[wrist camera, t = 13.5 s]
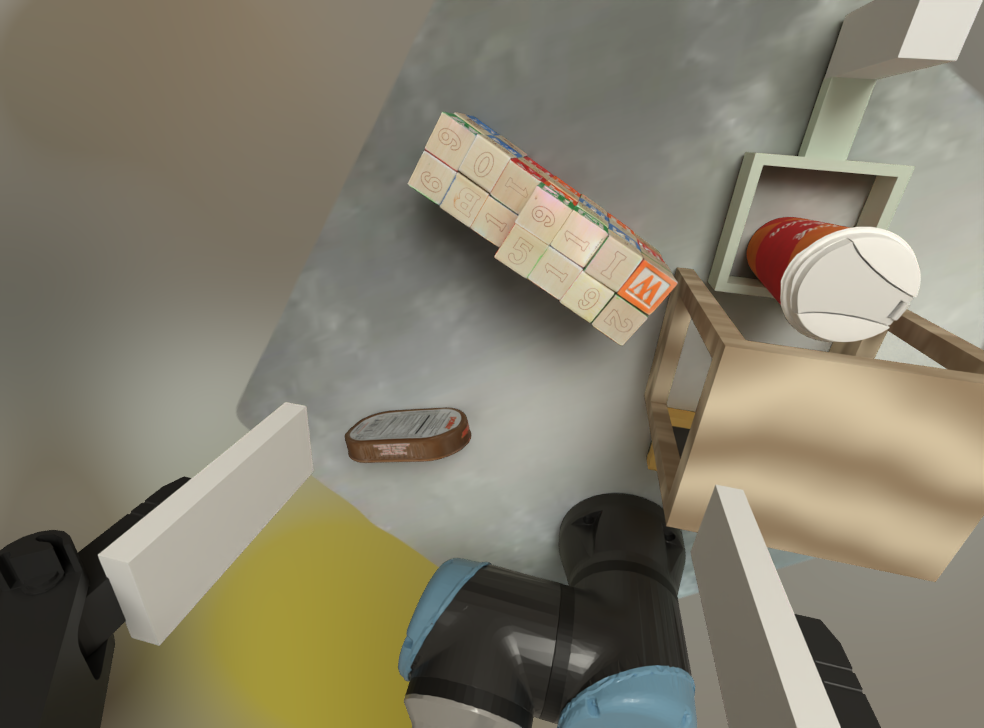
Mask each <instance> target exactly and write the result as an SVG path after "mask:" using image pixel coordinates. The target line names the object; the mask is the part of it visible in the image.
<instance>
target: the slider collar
mask: <svg viewBox="0 0 984 728" xmlns="http://www.w3.org/2000/svg"><path fill="white" fill-rule="evenodd" d="M982 1H983V0H874V1H872V2H870V3H868V4H866V5H864V6H862V7H860V8H859V9H857V10H855V11H853V12H851V13H849V14H847V15H846V16H845V19H844V22H843V25H842V28H841V31H840V34H839V37H838V40H837V43H836V46H835V49H834V51H833V54H832V57H831V60H830V63H829V66H828V69H827V72H826V75H825V78H824V80H823V83H822V86H821V89H820V92H819V95H818V98H817V100H816V103H815V106H814V109H813V112H812V115H811V118H810V121H809V124H808V127H807V130H806V133H805V136H804V139H803V142H802V145H801V148H800V151H799V154H798V156H787V155H776V154H764V153H749V152H745V155H744V158H743V162H742V165H741V169H740V172H739V176H738V179H737V183H736V186H735V189H734V193H733V196H732V200H731V203H730V207H729V210H728V214H727V217H726V220H725V224H724V227H723V231H722V234H721V238H720V241H719V245H718V248H717V251H716V255H715V258H714V262H713V265H712V269H711V272H710V276H709V279H708V283H709V284H710V285H711V287H712V288H713V289H714V290H715V291H721V292H729V293H737V294H744V295H752V296H760V297H768V298H774V297H773V296H772V294H771V293H770V292H769V291H768V290H767V288H766V287H765V286H764V285H763V284H762V282H761V281H760V280H759V279H751V278H743V277H735V276H729V275H730V271H731V268H732V265H733V262H734V258H735V255H736V252H737V249H738V245H739V242H740V239H741V236H742V232H743V229H744V226H745V223H746V220H747V216H748V213H749V210H750V207H751V203H752V200H753V197H754V194H755V190H756V187H757V184H758V181H759V177H760V174H761V171H762V168H763V165H770V166H781V167H792V168H803V169H815V170H826V171H837V172H848V173H860V174H871V175H877V177H876V179H875V181H874V184H873V186H872V189H871V191H870V194H869V196H868V198H867V201H866V203H865V206H864V208H863V211H862V213H861V215H860V218H859V220H858V223H857V225H856V227H875V228H881V229H884V230H887V229H888V227H889V225H890V222H891V220H892V218H893V216H894V213H895V211H896V209H897V207H898V204H899V202H900V200H901V198H902V195H903V193H904V191H905V188H906V186H907V184H908V182H909V179H910V177H911V175H912V173H913V170H914V168H915V166H905V165H893V164H881V163H869V162H858V161H846V159H847V157H848V154H849V152H850V149H851V146H852V144H853V141H854V138H855V136H856V133H857V130H858V128H859V125H860V123H861V120H862V117H863V115H864V112H865V109H866V107H867V104H868V102H869V99H870V96H871V94H872V91H873V88H874V86H875V83H876V80H877V79H881V78H886V77H890V76H894V75H898V74H902V73H906V72H911V71H915V70H919V69H923V68H927V67H932V66H936V65H940V64H944V63H948V62H953V61H956V60H957V58H958V56H959V54H960V51H961V49H962V47H963V44H964V42H965V40H966V37H967V35H968V33H969V31H970V28H971V26H972V24H973V22H974V19H975V17H976V15H977V12H978V10H979V8H980V6H981V3H982Z"/></svg>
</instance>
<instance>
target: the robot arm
mask: <svg viewBox="0 0 984 728" xmlns="http://www.w3.org/2000/svg"><path fill="white" fill-rule="evenodd" d="M313 471H314V470H313V461H312V453H311V444H310V435H309V426H308V418H307V409H306V406H303V405H298V404H292V403H287V402H285V403H284V404H283V405H281V406H280V407H279V408H278V409H277V410H275V411H274V412H273V413H272V414H270V415H269V416H268V417H267V418H266V419H264V420H263V421H262V422H261V423H259V424H258V425H257V426H256V427H254V428H253V429H252V430H251V431H250V432H248V433H247V434H246V435H245V436H243V437H242V438H241V439H240V440H238V441H237V442H236V443H235V444H234V445H233V446H231V447H230V448H229V449H227V450H226V451H225V452H224V453H222V454H221V455H220V456H219V457H218V458H216V459H215V460H214V461H213V462H211V463H210V464H209V465H208V466H206V467H205V468H204V469H203V470H202V471H200V472H199V473H198V474H197V475H195V476H194V477H193V478H188V477H182V478H180V479H178V480H176V481H174V482H172V483H169V484H167V485H165V486H163V487H162V488H160V489H159V490H158V491H156V492H155V493H154V494H153V495H151V496H150V497H149V498H147V499H146V500H145V503H141V504H140V505H139V506H137V507H136V508H135V509H133V510H132V511H131V513H130V514H127V515H126V516H124V517H123V518H122V519H120V520H119V521H118V522H117V523H115V524H114V525H113V526H111V527H110V528H109V529H108V530H106V531H105V532H104V533H103V534H101V535H100V536H99V537H97V538H96V539H95V540H94V541H92V542H91V543H90V544H88V545H87V546H86V547H84V548H83V549H82V550H81V551H79V552H78V553H77V550H76V548H75V546H74V544H73V541H72V539H71V537H70V536H69V535H68V534H67V533H65V532H64V531H58V530H49V531H41V532H37V533H34V534H31V535H28V536H25V537H22V538H20V539H18V540H16V541H14V542H12V543H10V544H9V545H7V546H6V547H4V548H3V549H2V550H0V728H100V725H101V720H102V714H103V709H104V703H105V698H106V692H107V687H108V681H109V674H110V670H111V664H112V658H113V653H114V647H115V639H114V635H113V633H114V632H115V631H116V630H117V629H118V628H119V627H120V626H121V625H122V624H123V623H124V622H126V625H127V627H128V630H129V632H130V635H131V637H132V638H135V639H139V640H142V641H145V642H149V643H152V644H156V645H160V644H161V643H162V642H163V641H164V640H165V639H166V638H167V636H168V635H169V634H170V633H171V632H172V631H173V630H174V629H175V627H176V626H177V625H178V624H179V623H180V622H181V621H182V619H183V618H184V617H185V616H186V615H187V614H188V613H189V612H190V611H191V609H192V608H193V607H194V606H195V605H196V604H197V603H198V601H199V600H200V599H201V598H202V597H203V596H204V595H205V594H206V592H207V591H208V590H209V589H210V588H211V587H212V585H213V584H214V583H215V582H216V581H217V580H218V579H219V578H220V576H221V575H222V574H223V573H224V572H225V571H226V569H228V567H229V566H230V565H231V564H232V563H233V562H234V561H235V559H236V558H237V557H238V556H239V555H240V554H241V553H242V552H243V550H244V549H245V548H246V547H247V546H248V545H249V544H250V542H251V541H252V540H253V539H254V538H255V537H256V536H257V535H258V533H259V532H260V531H261V530H262V529H263V528H264V527H265V526H266V524H267V523H268V522H269V521H270V520H271V519H272V518H273V517H274V515H275V514H276V513H277V512H278V511H279V510H280V509H281V507H282V506H283V505H284V504H285V503H286V502H287V501H288V499H289V498H290V497H291V496H292V495H293V494H294V493H295V492H296V491H297V489H298V488H299V487H300V486H301V485H302V484H303V483H304V482H305V480H306V479H307V478H308V477H309V476H310V475H311V474H312V472H313ZM559 553H560V557H561V561H562V564H563V567H564V571H565V574H566V577H567V580H568V584H569V586H568V585H564V584H561V583H558V582H554V581H550V580H546V579H542V578H538V577H535V576H531V575H527V574H523V573H520V572H516V571H512V570H509V569H505V568H502V567H498V566H495V565H492V564H491V563H489V562H482V563H481V562H476V561H471V560H466V559H461V558H453V559H450V560H448V561H446V562H445V563H443V564H442V565H441V566H440V567H439V568H438V569H437V571H436V572H435V573H434V575H433V576H432V578H431V579H430V581H429V583H428V585H427V586H426V588H425V590H424V592H423V594H422V596H421V598H420V600H419V602H418V605H417V607H416V609H415V612H414V614H413V616H412V619H411V621H410V624H409V627H408V629H407V637H406V638H405V641H404V644H403V646H402V649H401V652H400V656H399V663H398V669H399V672H400V675H401V676H402V677H404V679H405V680H406V681H410V682H409V686H408V689H407V692H406V695H405V699H404V703H405V706H406V709H407V711H408V714H409V716H410V719H411V722H412V728H532V722H533V718H534V717H536V718H539V719H542V720H546V721H549V722H552V723H555V724H558V726H557V728H697V718H696V709H695V700H694V696H695V685H694V680H693V678H692V676H691V670H690V664H689V659H688V653H687V648H686V642H685V636H684V631H683V626H682V620H681V614H680V609H679V603H678V597H677V595H678V591H679V587H680V582H681V578H682V574H683V570H684V565H685V559H686V552H685V546H684V541H683V536H682V532H681V530H680V529H678V528H673V527H669V526H666V521H665V515H664V509H663V508H662V507H660V506H659V505H657V504H655V503H653V502H651V501H649V500H647V499H644V498H641V497H638V496H634V495H628V494H603V495H598V496H594V497H591V498H588V499H586V500H584V501H582V502H580V503H578V504H577V505H575V506H574V507H573V508H572V509H571V510H570V511H569V512H568V513H567V515H566V516H565V518H564V519H563V521H562V524H561V528H560V536H559ZM691 557H692V561H693V566H694V570H695V575H696V580H697V584H698V589H699V593H700V598H701V603H702V607H703V612H704V616H705V621H706V625H707V630H708V635H709V639H710V644H711V648H712V653H713V657H714V662H715V667H716V671H717V676H718V680H719V685H720V690H721V694H722V699H723V703H724V708H725V712H726V717H727V721H728V726H729V728H881V727H880V725H879V723H878V720H877V718H876V716H875V714H874V712H873V710H872V708H871V706H870V704H869V702H868V700H867V698H866V695H865V694H863V693H862V687H861V685H860V683H859V681H858V679H857V677H856V675H855V673H853V672H852V667H851V664H850V662H849V660H848V658H847V656H846V654H845V652H844V650H843V648H842V646H841V643H840V642H839V641H838V640H837V639H836V638H835V636H834V635H833V634H832V633H831V632H830V630H829V629H828V628H827V627H826V626H825V625H824V623H823V622H822V621H821V620H819V619H815V618H810V617H806V616H802V615H797V614H794V613H793V610H792V608H791V605H790V603H789V600H788V598H787V595H786V593H785V590H784V588H783V586H782V583H781V581H780V578H779V576H778V574H777V571H776V569H775V566H774V564H773V561H772V559H771V556H770V554H769V551H768V549H767V547H766V544H765V542H764V539H763V537H762V534H761V532H760V530H759V527H758V525H757V522H756V520H755V517H754V515H753V513H752V510H751V508H750V505H749V503H748V500H747V498H746V495H745V493H744V491H743V490H742V489H736V488H731V487H726V486H721V485H715V487H714V490H713V493H712V495H711V498H710V501H709V503H708V506H707V509H706V511H705V514H704V517H703V520H702V522H701V525H700V528H699V530H698V533H697V536H696V538H695V541H694V544H693V547H692V549H691Z"/></svg>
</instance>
